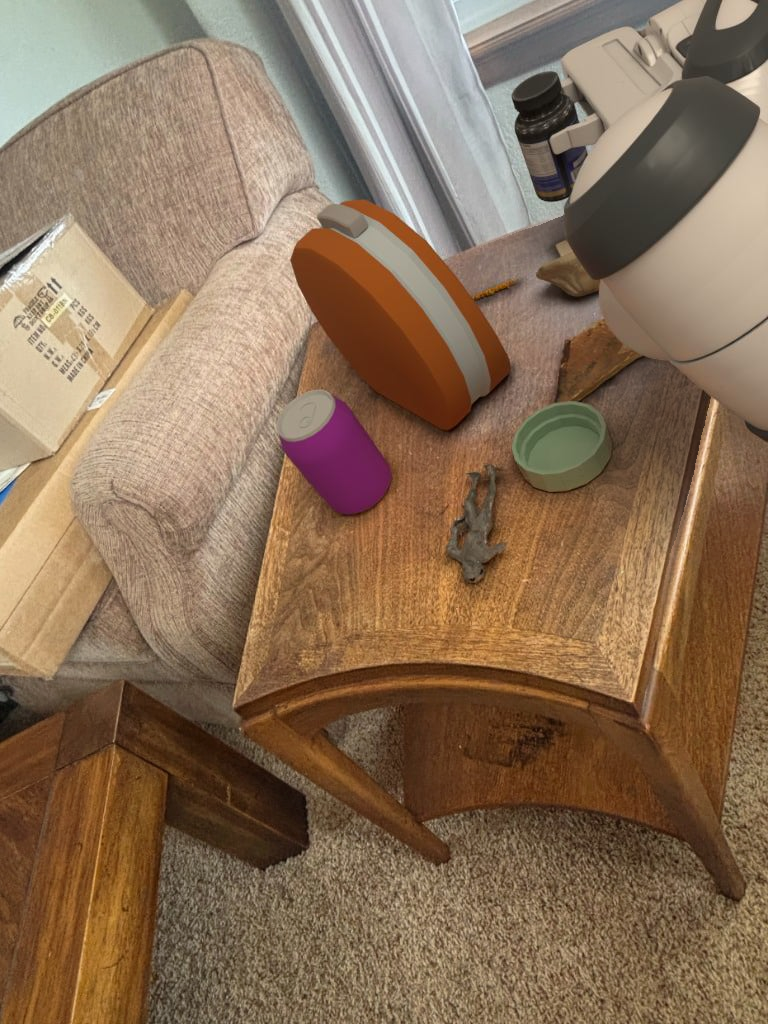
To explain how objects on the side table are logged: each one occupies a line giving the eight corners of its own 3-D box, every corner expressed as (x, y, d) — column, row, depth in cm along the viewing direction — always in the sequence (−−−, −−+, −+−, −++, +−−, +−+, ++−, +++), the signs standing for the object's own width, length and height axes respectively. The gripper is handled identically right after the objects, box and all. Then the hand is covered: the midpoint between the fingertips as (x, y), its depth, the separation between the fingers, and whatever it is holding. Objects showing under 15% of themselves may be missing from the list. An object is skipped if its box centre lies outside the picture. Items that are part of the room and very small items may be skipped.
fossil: (639, 224, 73) (543, 256, 74) (652, 267, 74) (556, 298, 74) (612, 249, 82) (527, 278, 83) (624, 287, 82) (538, 315, 83)
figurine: (505, 449, 66) (479, 554, 59) (529, 475, 68) (507, 581, 61) (453, 469, 71) (423, 569, 64) (477, 493, 72) (450, 594, 65)
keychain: (453, 303, 89) (456, 311, 89) (451, 302, 88) (454, 310, 88) (515, 277, 86) (518, 285, 86) (514, 276, 85) (517, 285, 86)
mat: (605, 224, 85) (604, 221, 85) (620, 250, 81) (620, 247, 81) (556, 247, 87) (555, 244, 87) (568, 273, 83) (567, 271, 83)
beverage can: (394, 507, 74) (337, 430, 65) (328, 526, 76) (264, 454, 68) (395, 452, 78) (342, 373, 70) (333, 472, 81) (274, 398, 73)
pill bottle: (582, 160, 80) (555, 58, 72) (601, 183, 76) (575, 77, 68) (529, 188, 81) (497, 91, 74) (545, 212, 77) (513, 112, 69)
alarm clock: (537, 380, 75) (456, 185, 59) (471, 446, 74) (369, 264, 58) (411, 325, 91) (320, 159, 75) (354, 379, 89) (249, 221, 74)
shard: (556, 422, 71) (551, 410, 69) (515, 386, 76) (510, 374, 75) (649, 356, 70) (646, 342, 69) (601, 325, 76) (597, 312, 74)
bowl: (598, 410, 69) (590, 388, 67) (624, 473, 64) (617, 451, 62) (514, 443, 72) (504, 423, 69) (532, 507, 66) (522, 487, 64)
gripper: (639, -6, 75) (511, 64, 79) (716, 60, 61) (557, 141, 65) (650, 56, 79) (529, 120, 83) (725, 130, 66) (575, 202, 69)
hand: (541, 130), depth 74 cm, fingers closed on pill bottle, 6 cm apart
